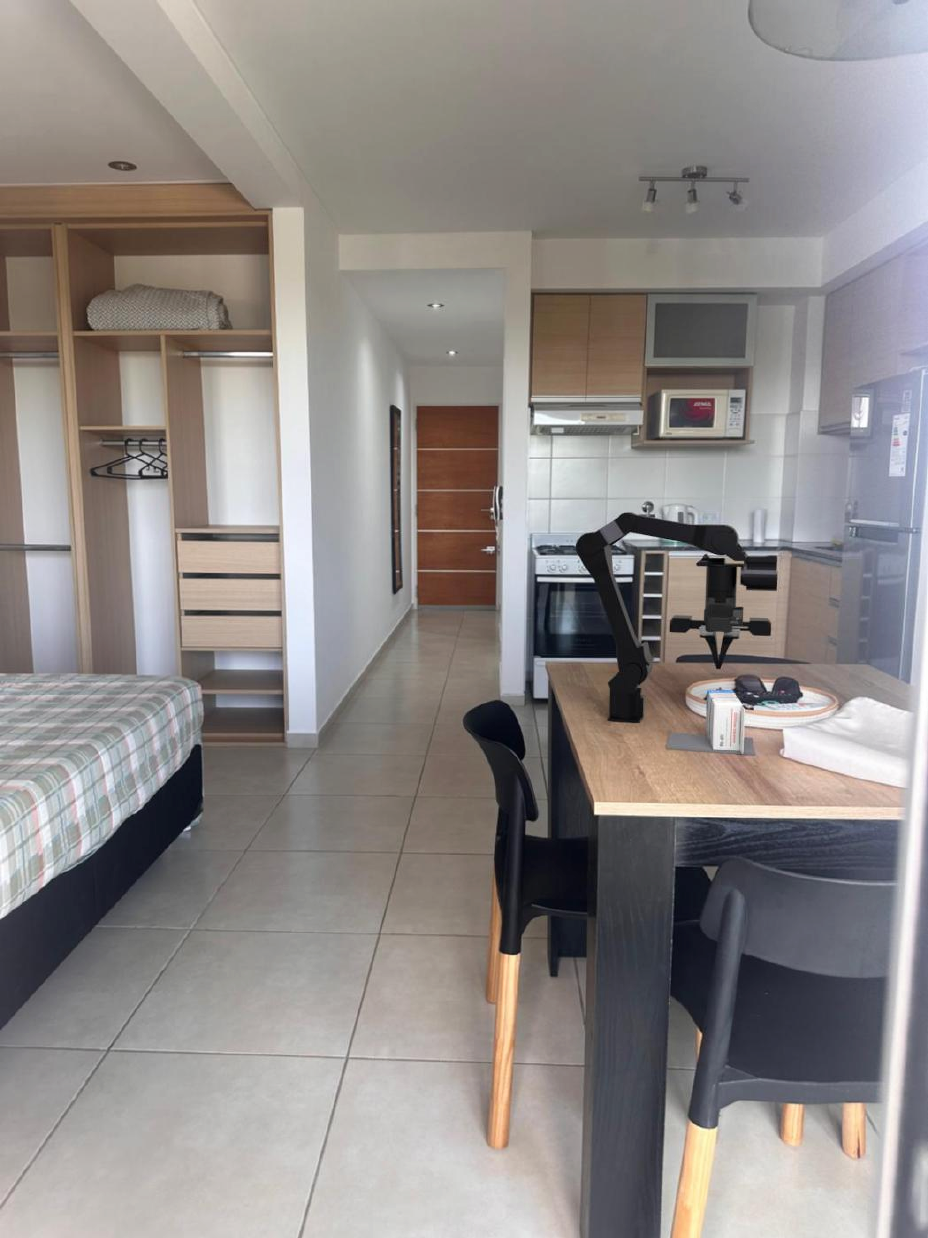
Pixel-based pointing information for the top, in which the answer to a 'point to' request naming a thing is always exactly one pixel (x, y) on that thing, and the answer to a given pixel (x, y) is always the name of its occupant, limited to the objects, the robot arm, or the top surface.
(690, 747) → the mat
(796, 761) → the top surface
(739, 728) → the ink box
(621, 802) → the top surface
